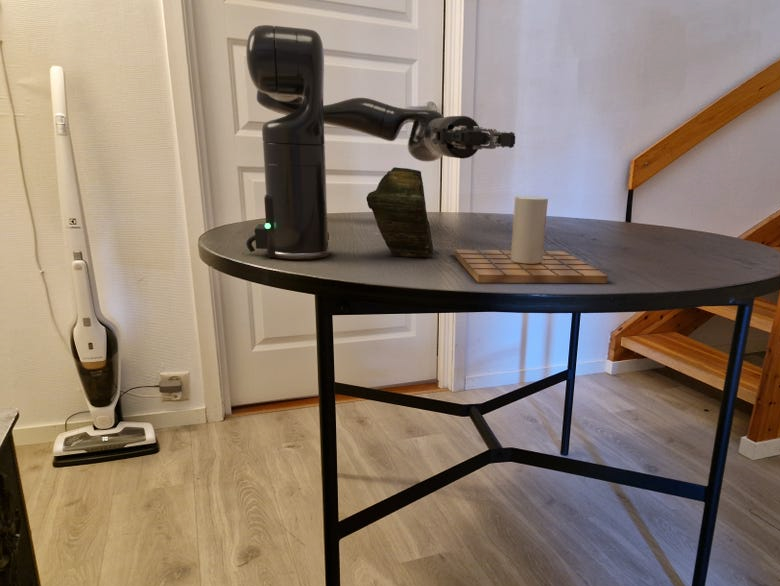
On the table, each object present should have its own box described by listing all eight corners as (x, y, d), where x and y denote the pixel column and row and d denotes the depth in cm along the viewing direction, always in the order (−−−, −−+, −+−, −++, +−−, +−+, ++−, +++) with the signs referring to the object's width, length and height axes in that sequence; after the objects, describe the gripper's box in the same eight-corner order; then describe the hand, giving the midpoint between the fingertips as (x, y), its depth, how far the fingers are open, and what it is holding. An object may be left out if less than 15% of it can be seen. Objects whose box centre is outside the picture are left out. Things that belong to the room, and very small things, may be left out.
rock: (432, 262, 101) (418, 168, 95) (377, 269, 101) (360, 174, 96) (436, 246, 112) (424, 161, 107) (387, 252, 113) (373, 167, 107)
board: (478, 282, 89) (478, 273, 89) (454, 256, 107) (454, 248, 107) (606, 283, 93) (607, 274, 93) (563, 257, 112) (563, 250, 111)
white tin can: (515, 263, 97) (519, 198, 94) (506, 257, 102) (511, 195, 98) (546, 264, 98) (552, 199, 95) (536, 257, 103) (542, 196, 99)
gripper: (487, 158, 123) (525, 163, 109) (419, 156, 117) (450, 160, 103) (489, 118, 120) (528, 117, 106) (420, 113, 114) (451, 112, 101)
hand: (490, 138), depth 105 cm, fingers open, 8 cm apart
